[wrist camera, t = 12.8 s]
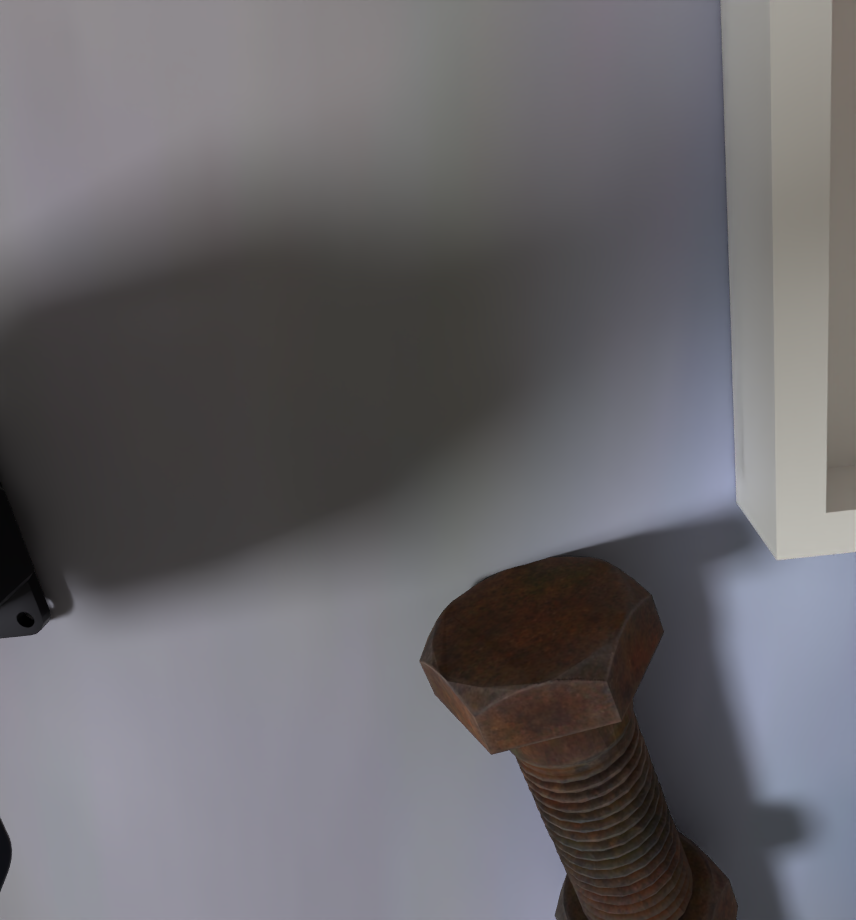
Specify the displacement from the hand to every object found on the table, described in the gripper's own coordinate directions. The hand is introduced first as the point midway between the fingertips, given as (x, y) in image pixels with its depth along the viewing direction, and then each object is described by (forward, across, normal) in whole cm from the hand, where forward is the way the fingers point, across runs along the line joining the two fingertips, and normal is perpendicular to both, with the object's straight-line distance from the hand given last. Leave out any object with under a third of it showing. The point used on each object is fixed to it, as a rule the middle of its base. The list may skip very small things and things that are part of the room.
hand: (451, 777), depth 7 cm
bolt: (+14, -2, +13) cm, 19 cm away
